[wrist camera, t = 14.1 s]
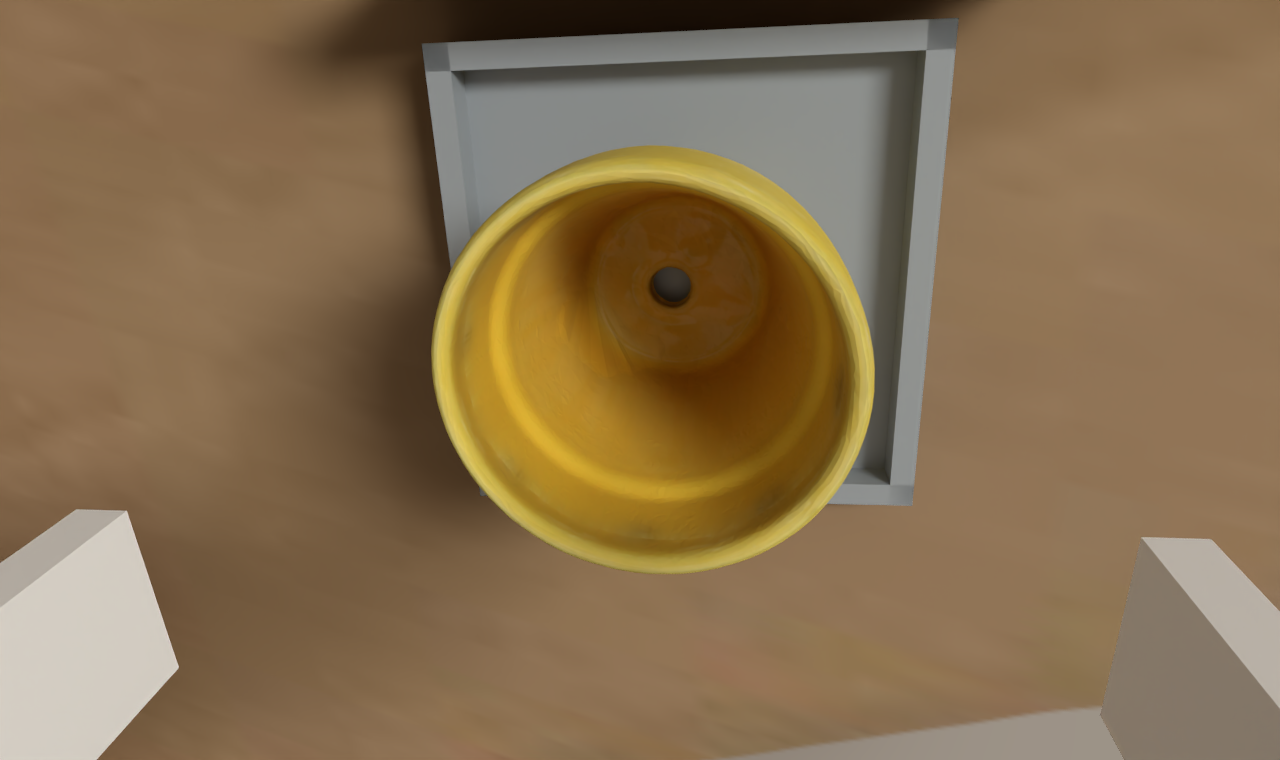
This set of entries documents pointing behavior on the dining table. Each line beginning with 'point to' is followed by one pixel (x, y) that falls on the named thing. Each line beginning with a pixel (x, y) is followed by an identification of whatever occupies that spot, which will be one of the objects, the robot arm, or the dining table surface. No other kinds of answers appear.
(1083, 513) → the dining table surface
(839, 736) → the dining table surface
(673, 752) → the dining table surface
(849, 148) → the tray
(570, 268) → the plant pot
